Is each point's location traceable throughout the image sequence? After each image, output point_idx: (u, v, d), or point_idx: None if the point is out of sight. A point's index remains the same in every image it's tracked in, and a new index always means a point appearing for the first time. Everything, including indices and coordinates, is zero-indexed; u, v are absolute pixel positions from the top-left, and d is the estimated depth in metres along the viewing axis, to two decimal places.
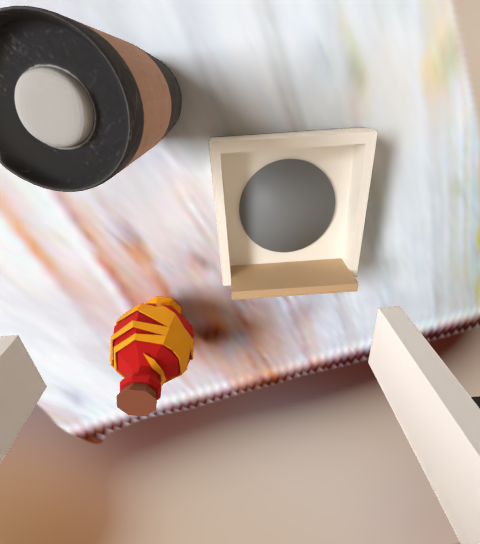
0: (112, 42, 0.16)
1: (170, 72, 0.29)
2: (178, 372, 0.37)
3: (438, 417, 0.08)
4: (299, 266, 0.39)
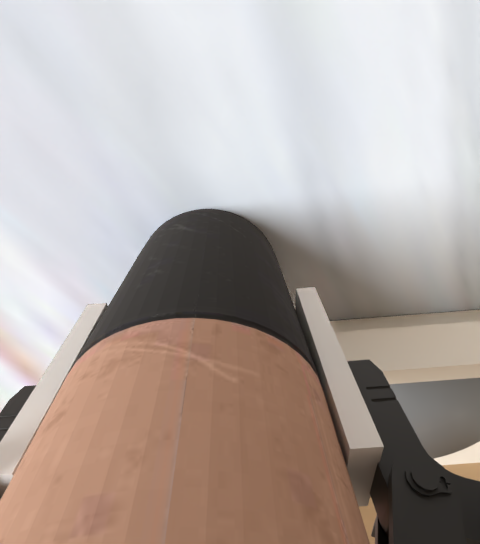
0: None
1: (271, 253, 0.14)
2: None
3: (320, 375, 0.10)
4: None
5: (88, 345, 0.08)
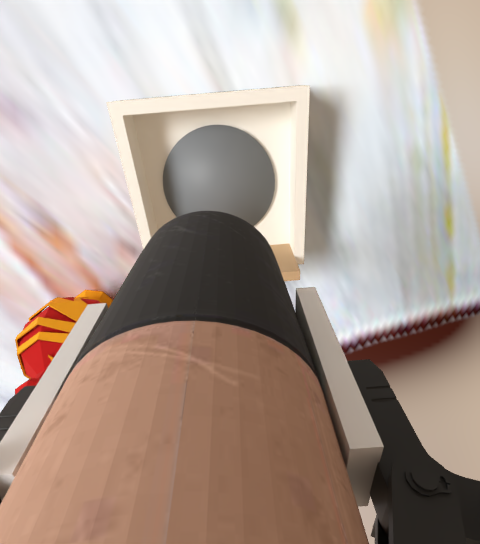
0: None
1: (271, 255, 0.14)
2: None
3: (320, 375, 0.10)
4: None
5: (88, 348, 0.08)
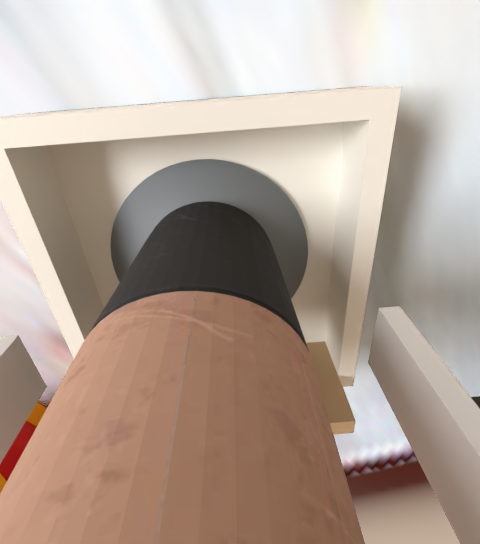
0: None
1: (268, 242, 0.15)
2: None
3: (438, 417, 0.08)
4: None
5: (101, 317, 0.09)
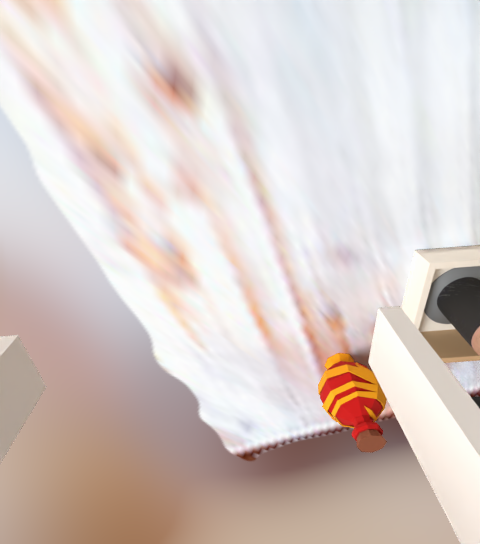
0: None
1: None
2: (376, 416, 0.50)
3: (438, 417, 0.08)
4: None
5: None
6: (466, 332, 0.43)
